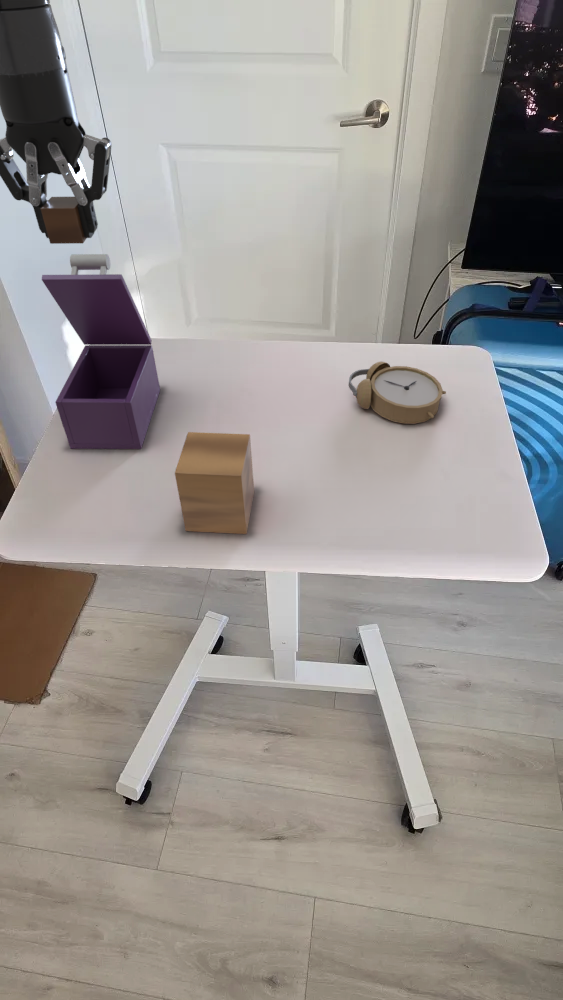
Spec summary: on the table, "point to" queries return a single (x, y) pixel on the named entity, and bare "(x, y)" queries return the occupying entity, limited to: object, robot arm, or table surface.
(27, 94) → the robot arm
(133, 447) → the box
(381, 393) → the alarm clock
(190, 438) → the stand
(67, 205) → the block
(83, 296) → the lid
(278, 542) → the table surface
